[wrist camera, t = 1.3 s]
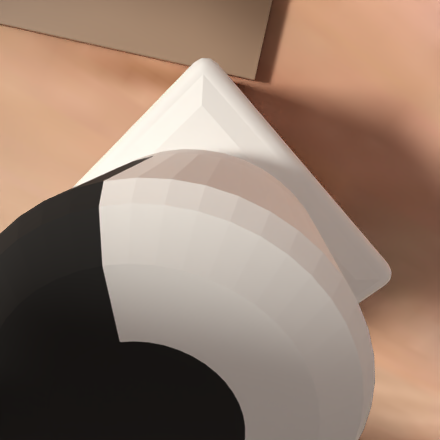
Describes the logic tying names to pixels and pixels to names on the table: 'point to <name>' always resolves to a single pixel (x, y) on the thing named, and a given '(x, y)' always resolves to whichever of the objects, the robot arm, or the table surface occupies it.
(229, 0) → the brown panel with frame
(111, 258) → the medicine bottle
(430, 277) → the table surface
